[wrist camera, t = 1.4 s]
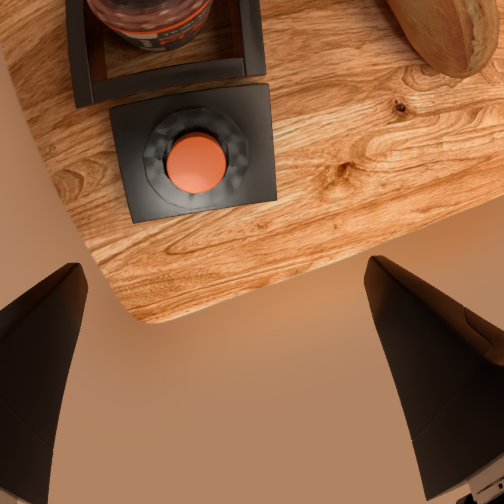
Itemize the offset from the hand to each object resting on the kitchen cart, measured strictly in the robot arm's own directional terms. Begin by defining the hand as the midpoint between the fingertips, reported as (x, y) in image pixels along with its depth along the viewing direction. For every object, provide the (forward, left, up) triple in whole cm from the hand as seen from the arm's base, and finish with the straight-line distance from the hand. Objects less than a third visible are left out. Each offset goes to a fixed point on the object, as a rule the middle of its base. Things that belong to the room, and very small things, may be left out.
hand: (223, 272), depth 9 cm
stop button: (0, +1, -11) cm, 11 cm away
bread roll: (+18, +13, -15) cm, 26 cm away
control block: (0, +1, -14) cm, 14 cm away
